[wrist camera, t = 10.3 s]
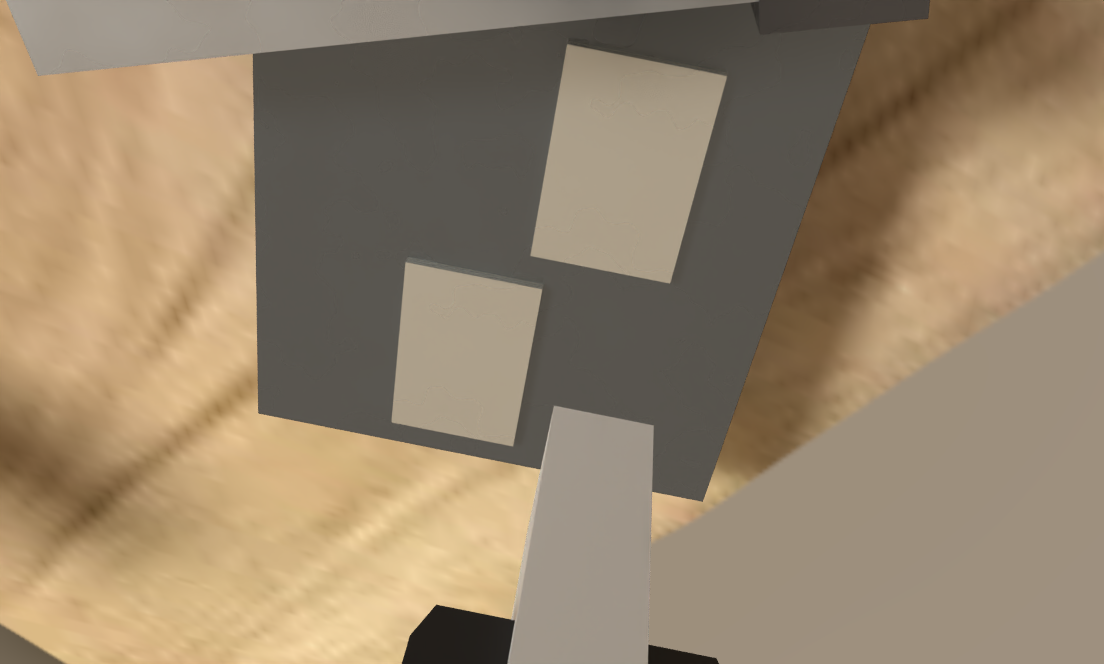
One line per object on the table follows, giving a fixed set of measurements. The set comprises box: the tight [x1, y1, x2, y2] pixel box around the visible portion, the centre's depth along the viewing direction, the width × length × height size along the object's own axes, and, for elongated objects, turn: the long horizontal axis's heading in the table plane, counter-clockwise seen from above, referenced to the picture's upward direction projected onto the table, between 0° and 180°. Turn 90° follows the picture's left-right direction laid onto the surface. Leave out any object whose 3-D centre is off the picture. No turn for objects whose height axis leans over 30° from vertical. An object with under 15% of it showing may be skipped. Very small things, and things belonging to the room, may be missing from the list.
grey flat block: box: [253, 3, 870, 502], centre depth 26 cm, size 20×15×5 cm
